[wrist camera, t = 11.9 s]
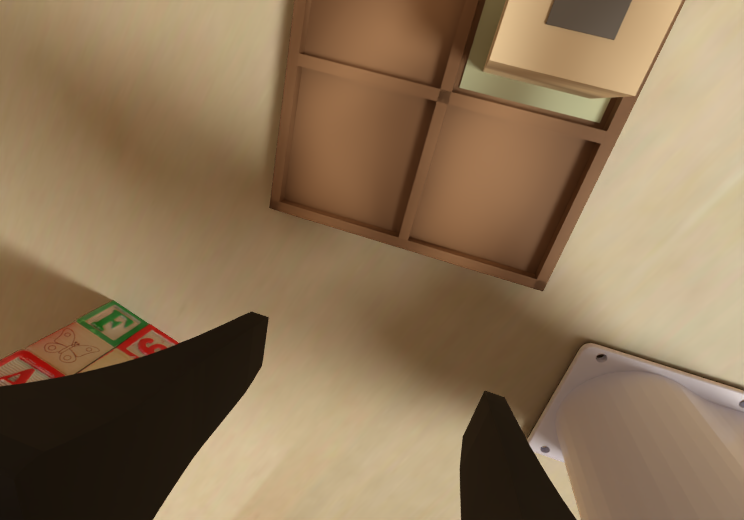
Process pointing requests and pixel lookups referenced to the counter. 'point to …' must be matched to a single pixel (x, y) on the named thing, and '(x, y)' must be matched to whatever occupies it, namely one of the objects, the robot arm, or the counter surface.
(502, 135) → the tray
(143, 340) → the stack of blocks
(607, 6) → the light wooden block
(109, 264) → the counter surface
